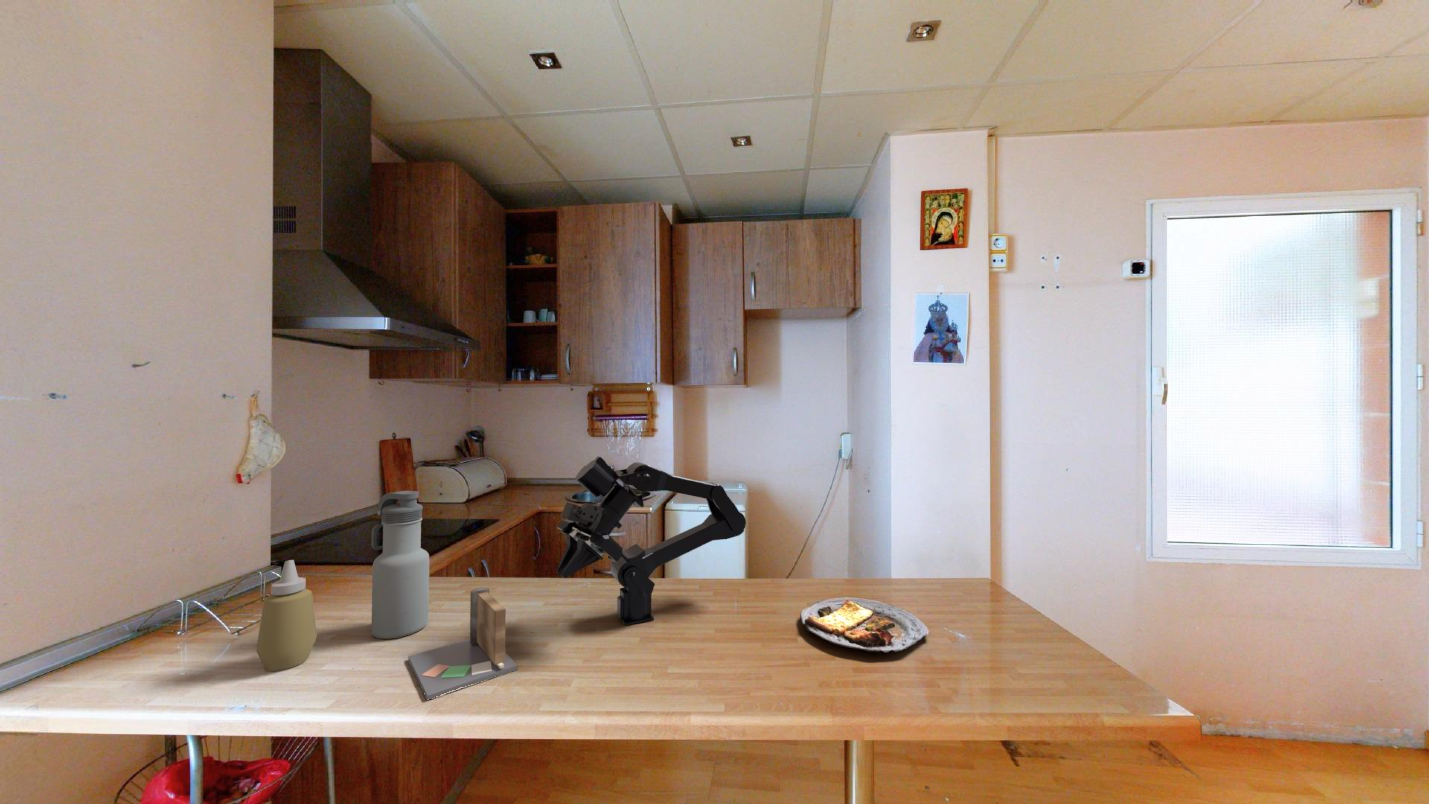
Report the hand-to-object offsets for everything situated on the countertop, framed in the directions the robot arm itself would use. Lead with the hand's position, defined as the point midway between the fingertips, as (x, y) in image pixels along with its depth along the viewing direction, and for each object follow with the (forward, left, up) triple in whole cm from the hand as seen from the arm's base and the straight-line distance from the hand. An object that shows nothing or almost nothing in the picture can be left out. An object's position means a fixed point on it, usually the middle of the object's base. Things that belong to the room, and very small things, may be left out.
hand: (560, 575), depth 94 cm
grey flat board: (+17, +2, -13) cm, 21 cm away
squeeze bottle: (+45, -12, -13) cm, 48 cm away
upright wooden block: (+13, +2, -11) cm, 17 cm away
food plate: (-56, +23, -13) cm, 62 cm away
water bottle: (+29, -19, -13) cm, 37 cm away
